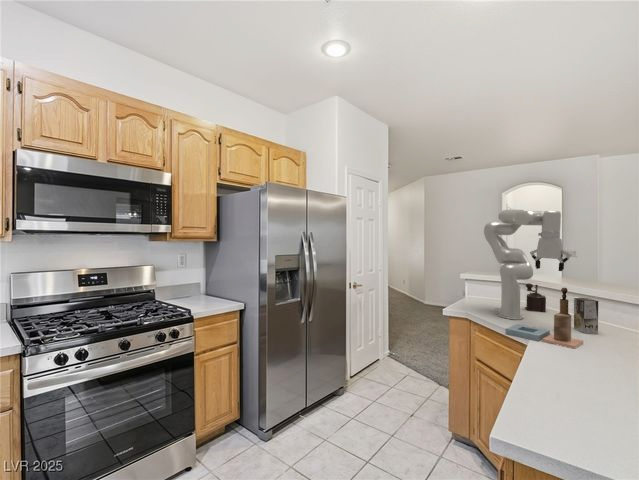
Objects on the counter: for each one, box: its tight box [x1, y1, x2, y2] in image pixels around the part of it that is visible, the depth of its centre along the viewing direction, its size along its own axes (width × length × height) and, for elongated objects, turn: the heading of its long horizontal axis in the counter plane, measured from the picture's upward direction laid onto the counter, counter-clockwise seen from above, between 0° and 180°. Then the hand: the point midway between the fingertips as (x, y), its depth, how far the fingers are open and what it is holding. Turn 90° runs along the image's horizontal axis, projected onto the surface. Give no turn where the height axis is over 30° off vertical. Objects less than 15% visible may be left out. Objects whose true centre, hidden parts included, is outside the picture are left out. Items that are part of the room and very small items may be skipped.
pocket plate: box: [505, 323, 551, 342], centre depth 155 cm, size 14×14×2 cm
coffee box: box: [573, 297, 600, 335], centre depth 162 cm, size 9×6×16 cm
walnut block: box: [553, 312, 572, 342], centre depth 144 cm, size 5×5×11 cm
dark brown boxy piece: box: [524, 283, 547, 313], centre depth 208 cm, size 16×11×18 cm
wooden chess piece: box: [559, 287, 571, 315], centre depth 188 cm, size 7×6×18 cm
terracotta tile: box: [541, 333, 584, 349], centre depth 144 cm, size 12×12×1 cm
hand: (549, 269), depth 162 cm, fingers open, 9 cm apart
